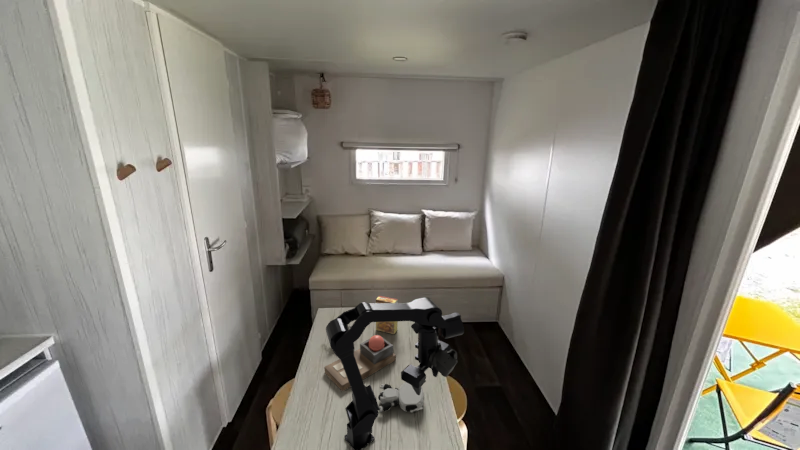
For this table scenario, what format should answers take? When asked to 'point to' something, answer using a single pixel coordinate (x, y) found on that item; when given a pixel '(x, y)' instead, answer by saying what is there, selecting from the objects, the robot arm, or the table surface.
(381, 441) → the table surface
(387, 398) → the robot toy
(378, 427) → the table surface
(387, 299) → the candy box
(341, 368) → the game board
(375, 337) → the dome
